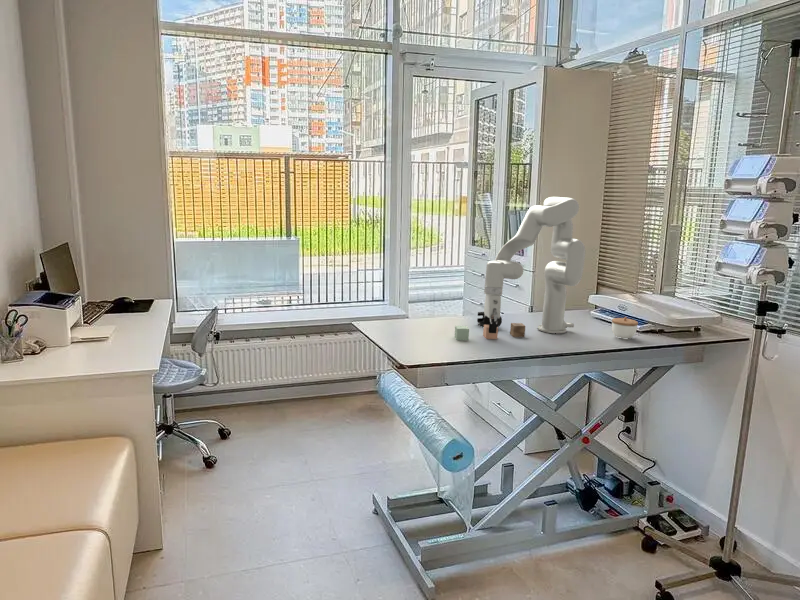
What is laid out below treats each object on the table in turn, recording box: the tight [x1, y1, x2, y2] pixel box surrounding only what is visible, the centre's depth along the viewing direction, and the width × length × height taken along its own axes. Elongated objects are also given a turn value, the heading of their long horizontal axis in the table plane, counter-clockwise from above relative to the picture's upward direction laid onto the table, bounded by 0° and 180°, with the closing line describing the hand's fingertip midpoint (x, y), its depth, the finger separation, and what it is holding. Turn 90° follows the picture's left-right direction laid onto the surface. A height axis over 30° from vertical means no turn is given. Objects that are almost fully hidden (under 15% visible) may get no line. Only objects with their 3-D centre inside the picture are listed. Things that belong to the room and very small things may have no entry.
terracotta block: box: [482, 325, 499, 340], centre depth 253 cm, size 5×5×5 cm
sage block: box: [454, 325, 470, 341], centre depth 249 cm, size 5×5×5 cm
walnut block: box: [509, 322, 526, 338], centre depth 258 cm, size 5×5×5 cm
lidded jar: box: [611, 316, 639, 339], centre depth 262 cm, size 11×11×9 cm
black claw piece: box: [476, 311, 503, 328], centre depth 272 cm, size 10×7×7 cm
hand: (489, 330), depth 253 cm, fingers open, 9 cm apart
